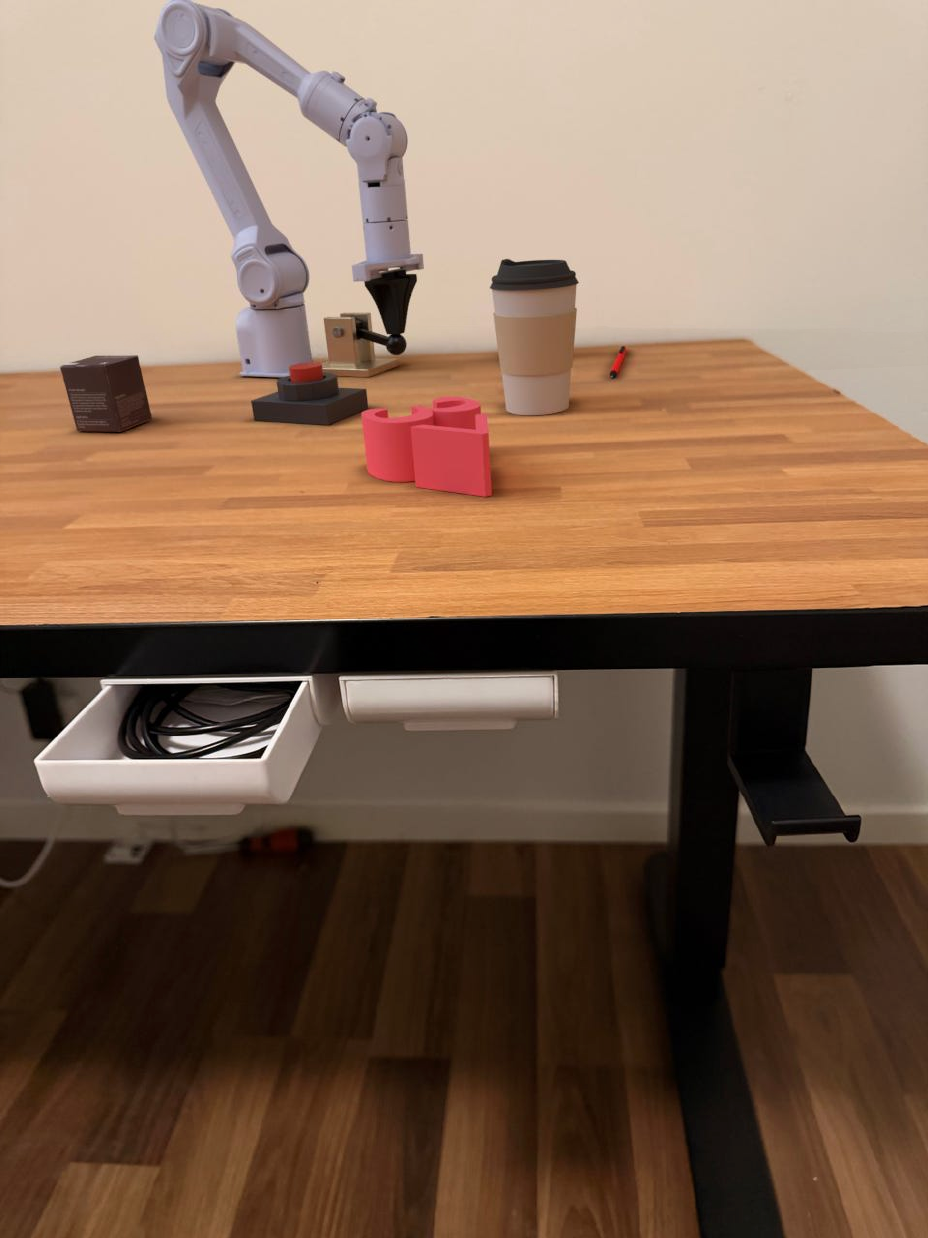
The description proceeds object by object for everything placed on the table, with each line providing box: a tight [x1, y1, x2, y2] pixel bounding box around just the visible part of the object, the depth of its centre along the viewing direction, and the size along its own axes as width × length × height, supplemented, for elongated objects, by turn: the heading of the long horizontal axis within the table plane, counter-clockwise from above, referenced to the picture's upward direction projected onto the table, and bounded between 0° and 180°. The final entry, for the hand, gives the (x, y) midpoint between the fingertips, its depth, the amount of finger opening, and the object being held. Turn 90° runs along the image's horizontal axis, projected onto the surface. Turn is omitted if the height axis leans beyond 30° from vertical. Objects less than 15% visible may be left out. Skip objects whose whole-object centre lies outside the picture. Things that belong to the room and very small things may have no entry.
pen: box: [609, 345, 628, 379], centre depth 116 cm, size 1×19×1 cm, turn 167°
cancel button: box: [289, 362, 324, 382], centre depth 99 cm, size 4×4×2 cm
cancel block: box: [250, 373, 369, 426], centre depth 100 cm, size 10×8×4 cm
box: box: [59, 354, 153, 433], centre depth 100 cm, size 6×6×7 cm
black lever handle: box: [355, 320, 408, 356], centre depth 120 cm, size 10×3×3 cm, turn 63°
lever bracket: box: [320, 312, 400, 378], centre depth 122 cm, size 10×8×7 cm
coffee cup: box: [489, 258, 580, 416], centre depth 94 cm, size 9×9×15 cm
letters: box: [360, 396, 493, 498], centre depth 75 cm, size 14×10×5 cm
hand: (395, 333), depth 119 cm, fingers closed, pressing on black lever handle
